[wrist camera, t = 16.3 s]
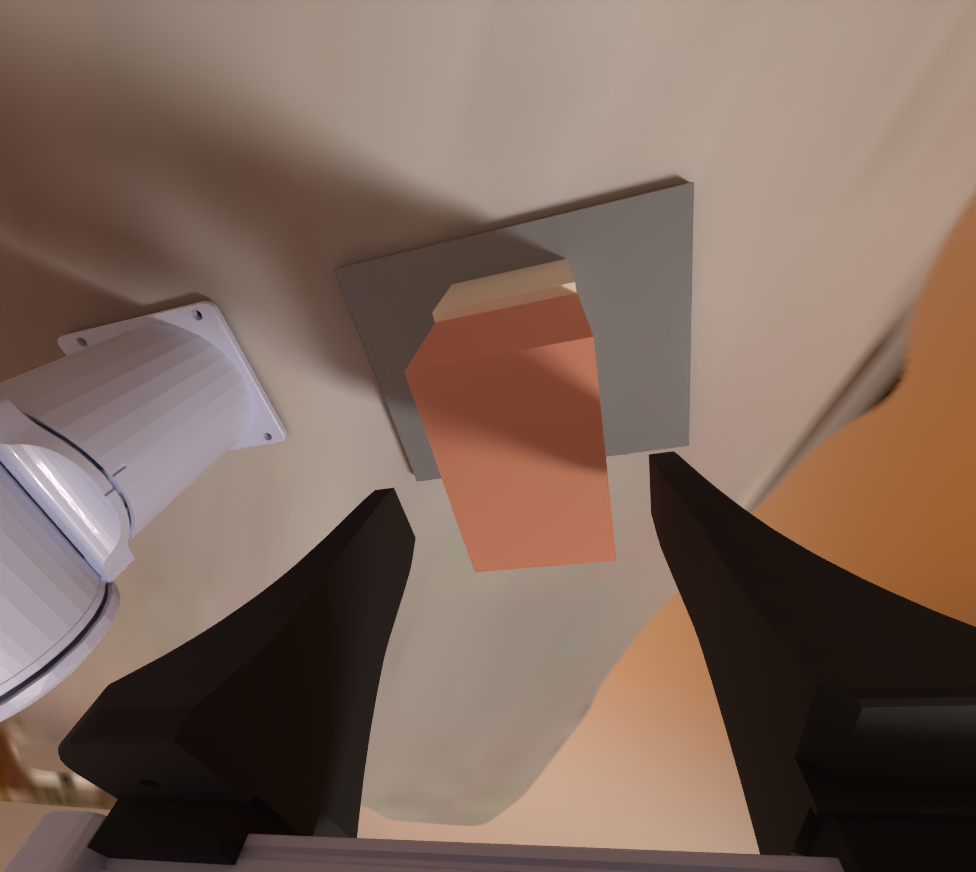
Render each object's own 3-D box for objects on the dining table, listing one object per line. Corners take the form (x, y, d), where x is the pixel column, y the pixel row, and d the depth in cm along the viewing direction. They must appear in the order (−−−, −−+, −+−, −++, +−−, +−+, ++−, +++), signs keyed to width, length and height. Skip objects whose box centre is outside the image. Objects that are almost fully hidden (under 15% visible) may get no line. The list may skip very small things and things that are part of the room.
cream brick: (491, 436, 23) (484, 488, 19) (451, 284, 19) (432, 312, 15) (586, 421, 22) (598, 473, 18) (565, 258, 18) (575, 281, 14)
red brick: (485, 494, 19) (474, 572, 15) (435, 322, 15) (403, 372, 11) (598, 480, 18) (615, 560, 14) (577, 293, 14) (593, 336, 10)
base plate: (419, 476, 25) (417, 481, 25) (338, 267, 19) (333, 269, 19) (685, 440, 22) (688, 445, 22) (689, 181, 16) (693, 181, 16)
